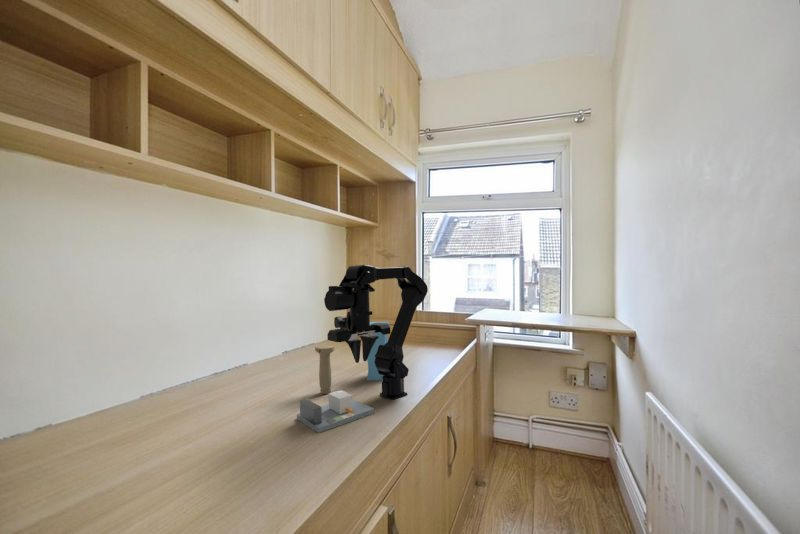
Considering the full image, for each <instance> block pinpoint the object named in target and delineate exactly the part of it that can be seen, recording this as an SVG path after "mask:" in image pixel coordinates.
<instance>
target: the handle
mask: <svg viewBox="0 0 800 534" xmlns="http://www.w3.org/2000/svg"><path fill="white" fill-rule="evenodd" d="M314 350H315V352H316V353H318V354H319V367H318V368H319V371H318V373H319V374H318V375H319V378H318V379H319V381H318V382H319V388H320V389H319V390H320V393H321V394H322V395H328V394H329V393H332V389H331V387H332V367H331V366H332V365H331V353H333V352H334V351H335V345H330V344H329V345H328V344H327V345H325V344H323V345H317V346H314Z"/></svg>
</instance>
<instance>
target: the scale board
mask: <svg viewBox="0 0 800 534" xmlns="http://www.w3.org/2000/svg"><path fill="white" fill-rule="evenodd" d="M321 409H322V423H320V424H318V425H313V424H311V423H310V422H308V421H307V420H305V419H304V418H302V417H300V412H299V413H297V414H296V419H297V420H298V421H300V422H301V423H303V424H304V425H306V426H307V427H308V428H310V429H312V430H314V431H315V432H316V433H318V434H319V433H323V432H326V431H328V430H330V429H333V428H336V427H338V426H343V425H345V424H347V423H350V422H353V421H356V420H359V419H362V418H364V417H367V416H369V415H373V414H375V408H374V407H371V406H369V405H367V404H365V403H363V402H360V401H358V400H356V399H354V398H353V414H351V413H349V412H345V413H342V414H339V413H337V412H335V411H333V410H331V409H329V404H325V405H323V406H321Z"/></svg>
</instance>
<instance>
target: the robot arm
mask: <svg viewBox="0 0 800 534" xmlns="http://www.w3.org/2000/svg"><path fill="white" fill-rule="evenodd" d="M389 279H392V280H393V279H396V280H397V285H398V288H400V290H401V292H400V293H401V295H400V297H401V301H402V303H401V305H400V308H399V311H398V314H397V315H396V319H395V321H394V323H393V326H392V330H391V326H390V325H389V324H382V323H376V324H371V325H370V323H371V316H372V315H373V311H372V310H370V293H374V292H375V291H376V289H375V288H373V286H372V285H371V284H373V283H375V282H377V281H379V280H389ZM428 290H429V288H428V285H427V283H426V282H425V280H423V278H422V277H421V276H420V275H418V274H417V273H416V272H414V271H413V270H412V269H411V267H409V266H406V265H403V266H402V265H401V266H398V265H397V266H395V267H394V266H393V267H376V266H374V265H368V264H357V265H349V266H348V267H347V269H346V271H345V274H344V276H343V278H342V280H341V281H340V284H339V285H329V286H328V291H327V292H326V293H325V296H324V298H323V299H324V300H323V301H324V306H325V308H326V310H327V311H329V312H335V311H336V312H337V311H345V310H349V311H347V312H346V317H343V316H342V315H340V316H335V317H334V320H333V321H334V323H333V324H334V327H335V328H334V329H330V330H329V331H327V340H328V341H330V342H334V343H342V342H346V344H347V345H348V347H349V349H350V351H351V354H352V357H353V359H354V361H355V363H356V364H359V363H360V357H361V351H362V360H363V362H368V361H367V358H368V356H369V354H370V351H371V349H372V347H373V345H374V343H375V341H376V339H378V338H379V337H378V336H376V333H377V332H381V333H382V335H385V334H387V335H389V337H388V339H387V341H388V342H387V343H386V344H385V345H379V347H378V350H377V353H376V355H375V356H374V357H376V358H375V362H374V363H375V366H376V368H377V370H378V373H379V375H384V376H382V380H381V392H379V396H381V397H382V396H383V397H384V398H386V399H390V400H396V399H399V398H401V397H405V396H408V392H406V391H405V378H406V377H408V376H409V371H410V370H409V368H408V367H407V366H406V364H404V363H403V361H404V357H405V356H404V351H403V346H404V343H405V340H406V337H407V335H408V332H409V329H410V326H411V324H412V321H413V317H414V315H415V313H416V309H417V307H418V306H420V305H421V304H422V303H423V301H425V298H426V296H427V294H428ZM359 338H360V339H359ZM361 347H362V349H361Z"/></svg>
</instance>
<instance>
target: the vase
mask: <svg viewBox="0 0 800 534" xmlns="http://www.w3.org/2000/svg"><path fill="white" fill-rule="evenodd" d="M376 323H382V324H388V325H389V324H390V323H389V321H378V322H377V321H375V322H373V321H372V322H371V321H370V325H371V324H376ZM376 336H378V337H379V338H378V339H376V341H375V343H374V345H373V347H372V349H371V351H370V354H369V356H368V358H367V361H366V362H367V367H368V369H367V370H368V371H367V377H366V381H383V380H382V376H384V375H379V373H378V370H377V368H376V366H375V363H374V362H375V358H376V357H374V356H375V355H376V353H377V350H378V347H379V345H385V344H386V343H387V342H388V334H385V335H382V333H381V332H377V333H376Z"/></svg>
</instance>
